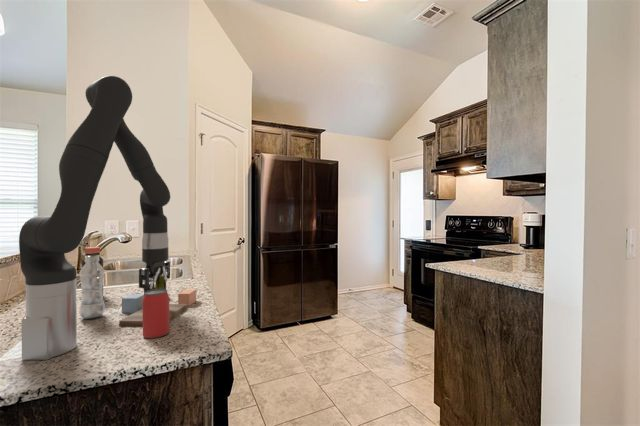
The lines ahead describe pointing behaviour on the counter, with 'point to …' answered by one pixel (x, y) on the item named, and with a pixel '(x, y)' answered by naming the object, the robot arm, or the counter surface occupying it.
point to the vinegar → (93, 252)
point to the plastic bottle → (92, 288)
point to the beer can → (155, 313)
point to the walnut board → (137, 317)
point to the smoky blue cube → (132, 303)
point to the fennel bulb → (159, 283)
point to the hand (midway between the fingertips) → (155, 296)
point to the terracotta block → (187, 297)
